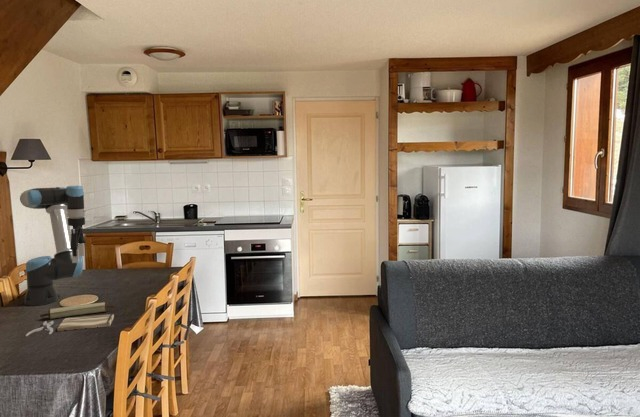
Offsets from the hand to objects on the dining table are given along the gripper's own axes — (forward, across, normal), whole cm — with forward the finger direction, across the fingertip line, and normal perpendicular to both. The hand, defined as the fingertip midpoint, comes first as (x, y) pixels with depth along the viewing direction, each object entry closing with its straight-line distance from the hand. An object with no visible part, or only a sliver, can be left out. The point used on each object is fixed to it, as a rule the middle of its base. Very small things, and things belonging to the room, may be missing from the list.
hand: (78, 259), depth 232 cm
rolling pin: (+25, -12, -1) cm, 28 cm away
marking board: (+24, -27, -7) cm, 37 cm away
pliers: (+25, -28, +10) cm, 39 cm away
